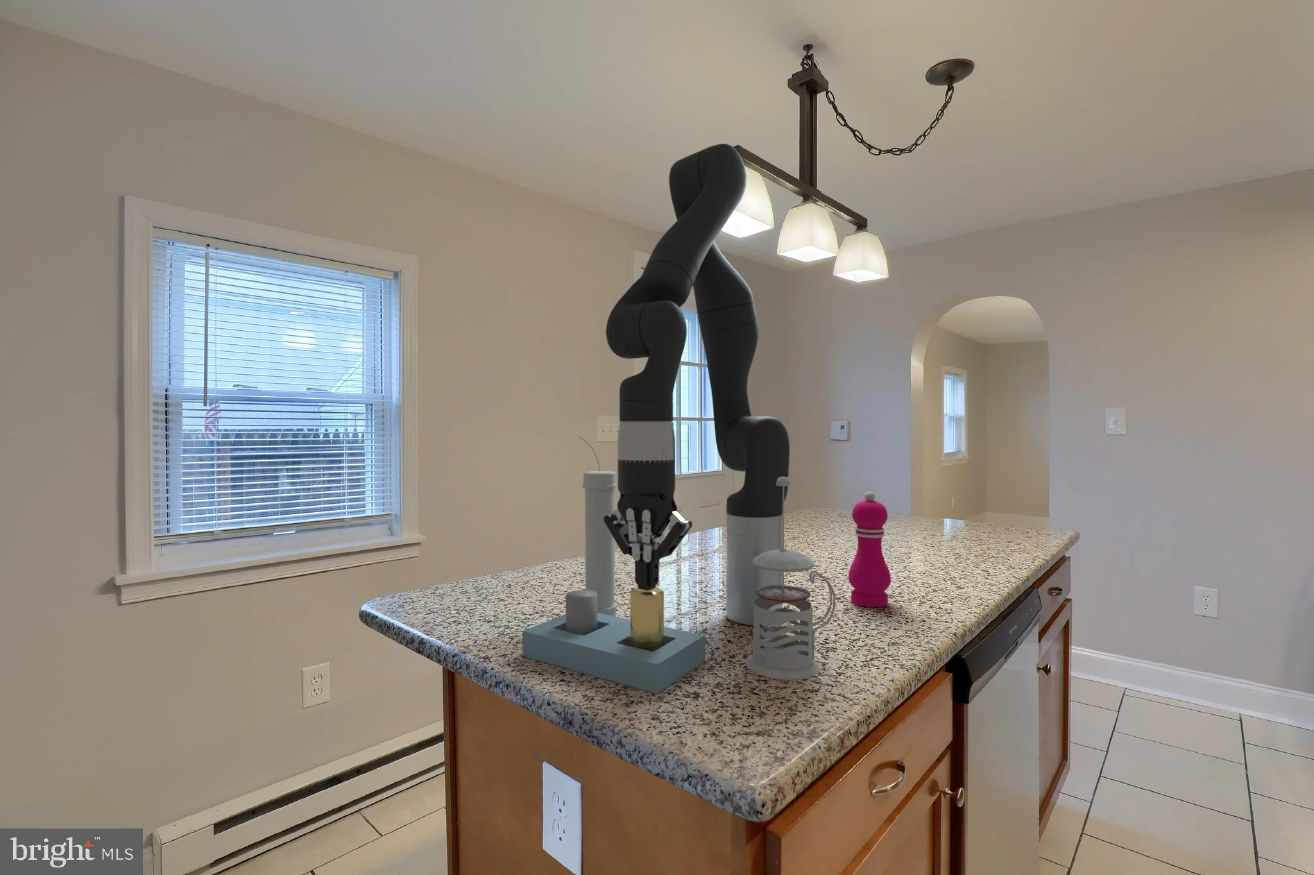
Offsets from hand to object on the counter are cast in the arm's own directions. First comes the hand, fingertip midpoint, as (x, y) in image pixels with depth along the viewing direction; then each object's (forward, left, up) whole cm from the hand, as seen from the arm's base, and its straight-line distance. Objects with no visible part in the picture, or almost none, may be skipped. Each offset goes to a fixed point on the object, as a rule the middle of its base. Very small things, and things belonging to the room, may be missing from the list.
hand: (646, 588), depth 80 cm
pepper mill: (-46, +17, -11) cm, 50 cm away
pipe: (-12, -18, -11) cm, 24 cm away
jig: (0, -6, -10) cm, 12 cm away
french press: (-11, +15, -11) cm, 22 cm away
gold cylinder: (0, 0, -10) cm, 10 cm away
